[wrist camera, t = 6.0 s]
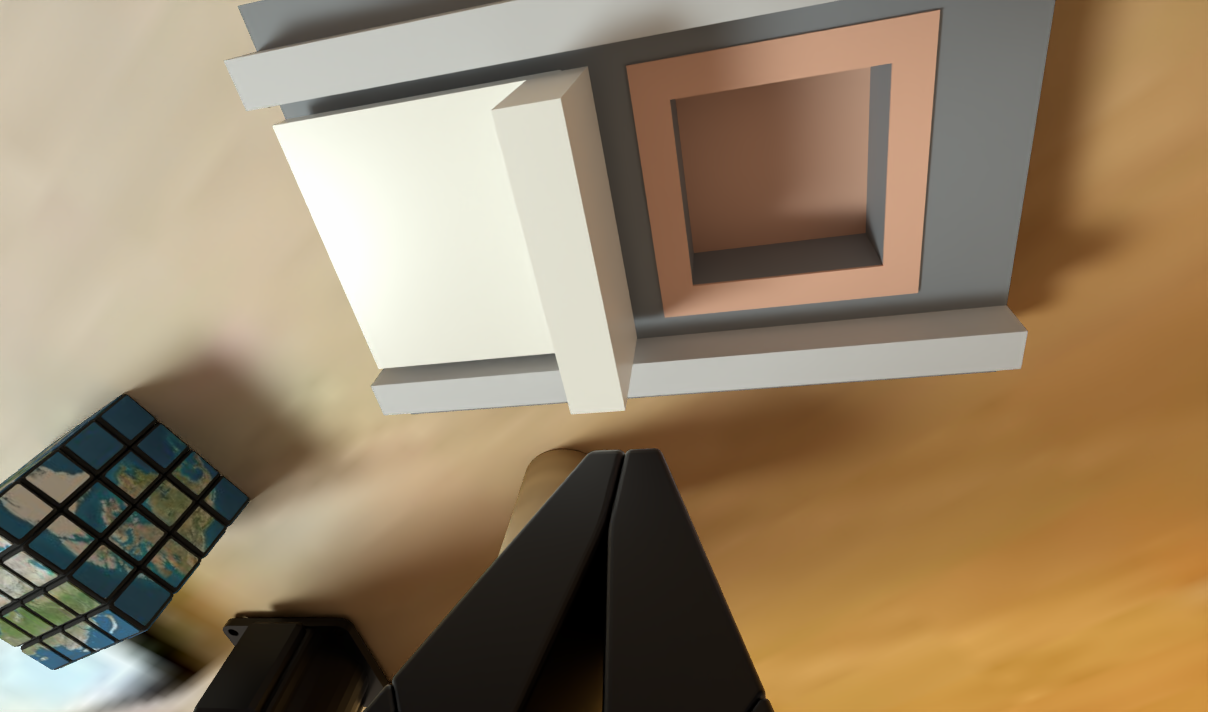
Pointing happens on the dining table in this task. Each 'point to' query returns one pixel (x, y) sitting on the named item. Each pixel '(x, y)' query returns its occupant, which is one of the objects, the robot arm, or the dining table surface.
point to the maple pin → (540, 486)
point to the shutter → (476, 228)
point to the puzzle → (104, 533)
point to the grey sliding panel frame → (734, 171)
